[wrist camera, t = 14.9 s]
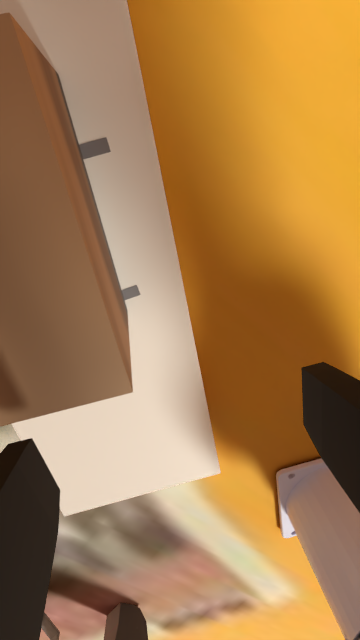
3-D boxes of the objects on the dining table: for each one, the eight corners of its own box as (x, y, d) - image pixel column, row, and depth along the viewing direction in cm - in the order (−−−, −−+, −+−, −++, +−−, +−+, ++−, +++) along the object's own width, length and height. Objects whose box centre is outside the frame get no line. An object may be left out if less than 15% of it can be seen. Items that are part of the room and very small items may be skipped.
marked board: (118, -21, 12) (118, -42, 11) (214, 454, 23) (220, 473, 22) (-181, 35, 11) (-221, 20, 10) (67, 494, 22) (64, 516, 21)
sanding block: (58, 74, 12) (9, 12, 6) (127, 310, 16) (132, 392, 10) (-78, 101, 11) (-250, 60, 6) (29, 334, 15) (-16, 430, 10)
